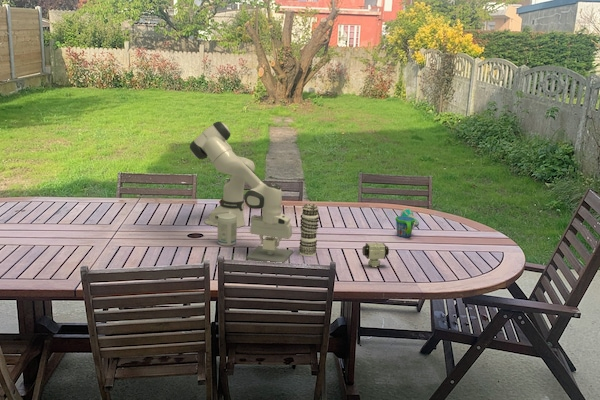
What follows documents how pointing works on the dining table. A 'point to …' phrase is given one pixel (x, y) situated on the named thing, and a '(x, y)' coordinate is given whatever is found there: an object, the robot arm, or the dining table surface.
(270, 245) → the cream open box
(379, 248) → the pneumatic valve
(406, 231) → the snack cup
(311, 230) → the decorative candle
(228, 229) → the supplement tub
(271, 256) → the grey square panel
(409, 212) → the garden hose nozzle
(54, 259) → the dining table surface
